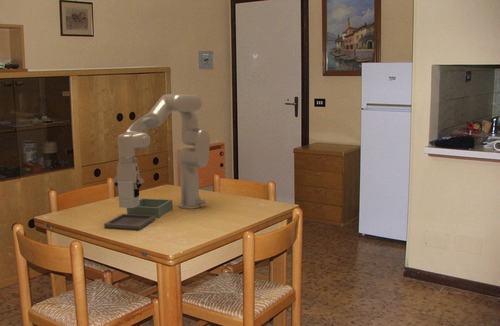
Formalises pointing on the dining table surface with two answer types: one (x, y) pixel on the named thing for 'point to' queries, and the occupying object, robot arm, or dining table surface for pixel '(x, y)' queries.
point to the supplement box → (127, 195)
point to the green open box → (151, 207)
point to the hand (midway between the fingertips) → (128, 196)
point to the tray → (130, 222)
